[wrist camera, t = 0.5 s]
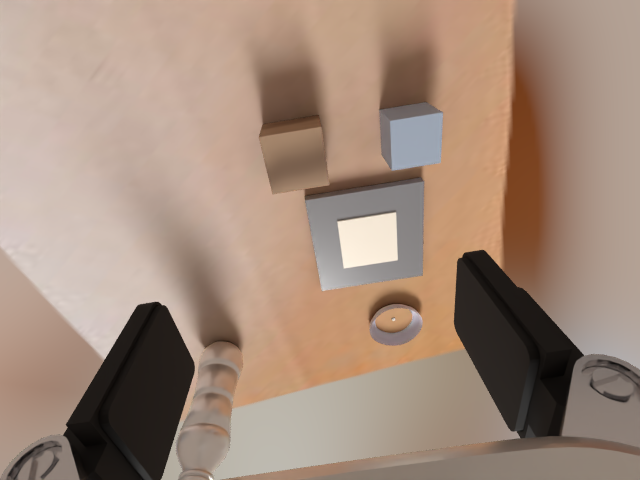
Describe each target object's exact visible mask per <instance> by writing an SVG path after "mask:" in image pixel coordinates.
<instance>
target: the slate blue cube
mask: <svg viewBox="0 0 640 480" xmlns="http://www.w3.org/2000/svg"><path fill="white" fill-rule="evenodd" d="M379 111H380V130H381V150H382V156H383V158H384V159H385V161H386V162H387V164H388V165H389V167H390V168H391V170H392V171H393V170H399V169H406V168H412V167H418V166H424V165H430V164H437V163H441V145H442V121H443V112H442V111H440V110H438V109H437V108H435V107H433V106H432V105H430V104H429V103H427V102H424V103H418V104H412V105H406V106H400V107H393V108H387V109H381V110H379Z"/></svg>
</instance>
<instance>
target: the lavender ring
mask: <svg viewBox="0 0 640 480" xmlns="http://www.w3.org/2000/svg"><path fill="white" fill-rule="evenodd" d="M394 308H405V309H409V310H410V311H411V313H412V316H413V319H412V321H411V323H410V324H409V325H408V327H407V328H405V329H404V330H402V331H400V332H396V333H387V332H383V331H381V330H379V329H378V328H377V327H376V325H375V320H376V318H377V317H378V316H379V315H380V314H381V313H383V312H385V311H387V310H390V309H394ZM392 320H393V321H394V320H395V317H394V318H392ZM422 323H423V322H422V318H421V316H420V314H419V313H418V312H417V311H416V310H415V309H414V308H412V307H410V306H407V305H403V304H392V305H388V306H385V307H383V308H381V309H380V310H379V311H378V312H377V313H376V314H375V315H374V317H373V318H372V320H371V322H370V334H371V336H372V338H373V339H374V340H375V341H377V342H379V343H381V344H385V345H401V344H404V343H407V342H409V341H410V340H412V339H413V338H414V337H415V336H416V335H417V334H418V333H419V331H420V330H421V328H422Z"/></svg>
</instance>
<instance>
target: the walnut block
mask: <svg viewBox="0 0 640 480" xmlns="http://www.w3.org/2000/svg"><path fill="white" fill-rule="evenodd" d="M259 140H260V144H261V148H262V152H263V157H264V161H265V165H266V169H267V173H268V177H269V182H270V186H271V190H272V194H278V193H284V192H290V191H297V190H303V189H309V188H315V187H321V186H328V185H330V184H329V177H328V170H327V163H326V156H325V149H324V142H323V135H322V128H321V123H320V119H319V115H316V116H310V117H304V118H298V119H292V120H286V121H280V122H274V123H268V124H263V125H262V129H261V132H260V135H259Z"/></svg>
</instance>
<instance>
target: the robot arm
mask: <svg viewBox="0 0 640 480" xmlns="http://www.w3.org/2000/svg"><path fill="white" fill-rule="evenodd" d="M454 325H455V329H456V332H457V334H458V336H459V338H460V340H461V341H462V343H463V345H464V347H465V349H466V351H467V352H468V354H469V356H470V358H471V360H472V361H473V364H474V365H475V367H476V369H477V371H478V373H479V375H480V376H481V378H482V380H483V382H484V384H485V385H486V387H487V389H488V391H489V393H490V395H491V397H492V398H493V400H494V402H495V404H496V406H497V408H498V409H499V411H500V413H501V415H502V417H503V419H504V421H505V422H506V424H507V426H508V428H509V429H510V430H511V431H517V433H518V434H519V436H520V439H512V440H503V441H494V442H486V443H479V444H470V445H461V446H454V447H446V448H440V449H432V450H425V451H417V452H410V453H403V454H396V455H389V456H382V457H374V458H367V459H361V460H353V461H346V462H339V463H333V464H325V465H318V466H311V467H304V468H297V469H290V470H284V471H277V472H270V473H263V474H256V475H249V476H242V477H236V478H229V479H222V480H640V370H639V369H638V368H636V367H634V366H633V365H631V364H629V363H628V362H625V361H623V360H621V359H618V358H616V357H611V356H607V355H599V354H591V355H587V356H584V355H583V354H582V352H580V350H579V349H578V348H577V347H576V346H575V345H574V344H573V343H572V341H571V340H570V339H569V338H568V337H567V336H566V335H565V334H564V333H563V332H562V331H561V329H560V328H559V327H558V326H557V325H556V324H555V323H554V322H553V321H552V319H551V318H550V317H549V316H548V315H547V314H546V313H545V312H544V311H543V309H542V308H541V307H540V306H539V305H538V304H537V303H536V302H535V301H534V300H533V299H532V297H531V296H530V295H529V294H528V293H527V292H526V291H525V290H524V289H522V288H519V287H517V286H516V285H515V284H514V283H513V282H512V281H511V280H510V278H509V277H508V276H507V275H506V274H505V273H504V272H503V270H502V269H501V268H500V267H499V266H498V265H497V264H496V263H495V261H494V260H493V259H492V258H491V257H490V256H489V255H488V254H487V252H486V251H484V250H479V251H473V252H466V253H464V254H463V257H462V258H459V259H458V261H457V277H456V295H455V313H454ZM194 371H195V365H194V361H193V359H192V357H191V355H190V353H189V351H188V349H187V347H186V345H185V343H184V341H183V339H182V337H181V335H180V333H179V331H178V329H177V327H176V325H175V323H174V321H173V318H172V316H171V314H170V312H169V310H168V308H167V307H166V306H165V305H161V304H160V303H159V302H152V303H146V304H140V305H138V306H137V307H136V309H135V310H134V312H133V314H132V315H131V317H130V319H129V320H128V322H127V324H126V325H125V327H124V329H123V330H122V332H121V334H120V335H119V337H118V339H117V340H116V342H115V344H114V345H113V347H112V349H111V350H110V352H109V354H108V355H107V357H106V359H105V360H104V362H103V364H102V365H101V367H100V369H99V371H98V372H97V374H96V375H95V377H94V379H93V380H92V382H91V384H90V385H89V387H88V389H87V391H86V392H85V394H84V396H83V397H82V399H81V400H80V402H79V404H78V405H77V407H76V409H75V410H74V412H73V414H72V415H71V417H70V419H69V420H68V422H67V424H66V426H67V427H68V428H67V430H66V431H65V433H64V435H63V436H62V435H50V436H47V437H44V438H41V439H40V440H38V441H36V442H35V443H32V444H31V445H30V446H28V447H27V448H25V449H24V450H23V451H21V452H20V453H19V454H18V455H17V456H16V457H15V458H14V459H13V460H12V461H11V463H10V464H9V465H8V467H7V468H6V469H5V471H4V472H3V474H2V476H1V478H0V480H161V478H162V476H163V473H164V469H165V466H166V463H167V460H168V456H169V453H170V450H171V447H172V443H173V440H174V437H175V434H176V431H177V427H178V424H179V421H180V418H181V414H182V411H183V408H184V405H185V401H186V398H187V395H188V392H189V388H190V385H191V382H192V379H193V375H194Z"/></svg>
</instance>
